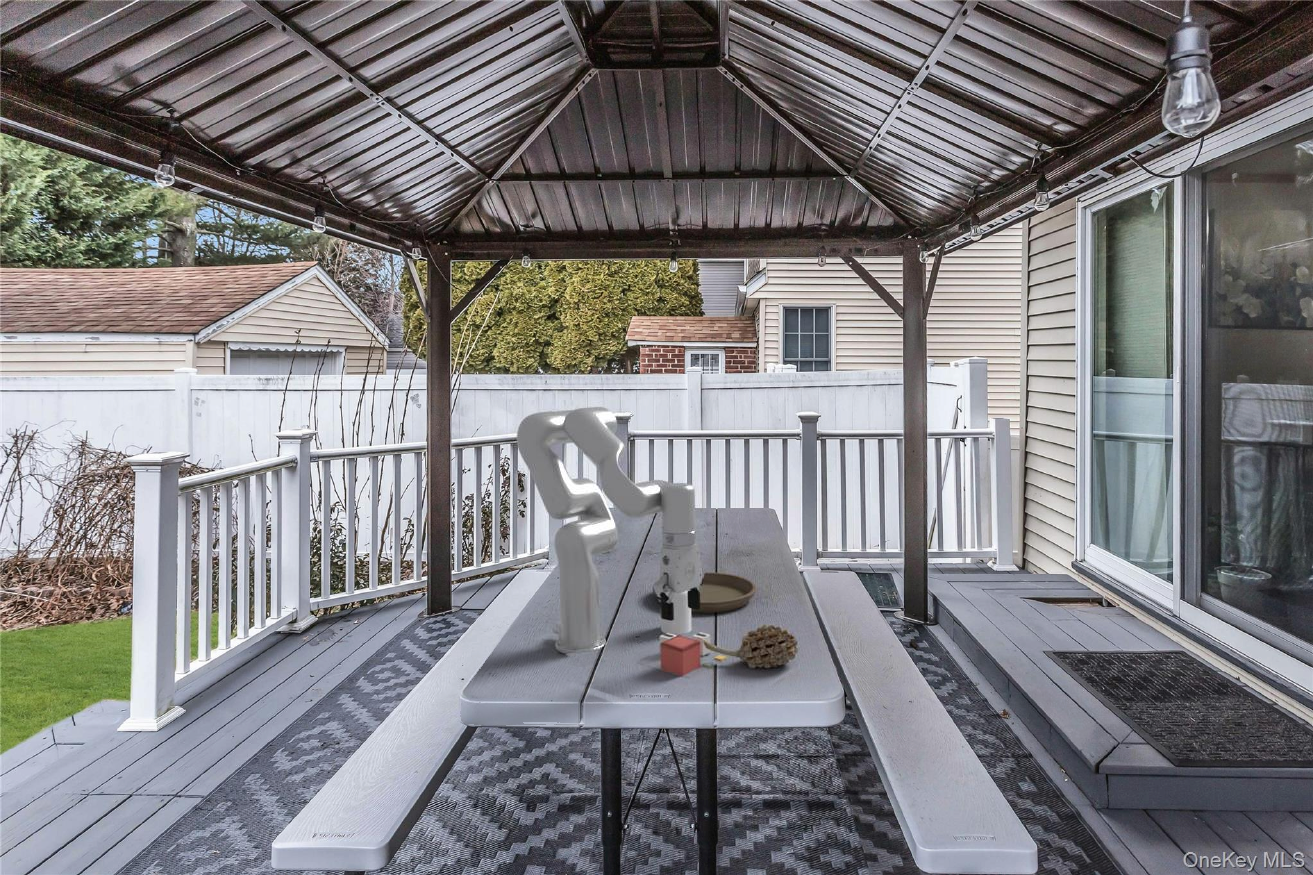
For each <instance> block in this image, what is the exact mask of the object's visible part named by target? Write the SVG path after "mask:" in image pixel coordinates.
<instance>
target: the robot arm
mask: <svg viewBox="0 0 1313 875" xmlns="http://www.w3.org/2000/svg"><path fill="white" fill-rule="evenodd" d="M617 430H618V421H617V418H616V416H615V414H614V413H613V412H612V411H611V410H610V409H608V408H606V407H602V406H594V407H593V406H591V407H580V408H576V409H572V410H571V409H570V410H568V409H567V410H556V411H555V410H554V411H552V410H550V411H540V412H536V413H535V412H534V413H532V414H530V415H528V416H525V417H524V418H523V419H522V420H521V422H520V424H519V426H518V429H517V433H516V444H517V448H518V452H519V454H520V456H521V458H522V460H523V462H524V464H525V465H526V466H527V468H528V471H529V472H530V474H531V477H532V479H533V481H534V484H535V486H536V488H537V491H538V494H539V496H540V498H541V500H542V503H543V505H544V508H545V510H546V512H547V514H548V515H549V516H550V517H551V518H552V519H554V520H559V521H560V520H567V519H572V518H576V517H579V520H573V521H570V522H567V523H566V524H563V525H562V526H561V527H559V528H558V530H557V532H556V533H555V536H554V542H553V543H554V549H555V554H556V558H557V564H558V570H559V571H558V572H559V573H558V575H559V596H560V598H559V599H560V622H558V623H556V625H555V627H554V628H553V629H552V633H554V634H557V635H558V639H557V641H555V643H554V644H555V646H554V647H555V649H556V650H557V651H558V652H559V653H561V654H564V655H566V654H569V653H584V652H591V651H595V650H598V649H601V648H603V647H604V646H606V643H607V641H606V638H604V637H603V636H602V635H600V634H601V632H600V598H599V594H600V592H599V591H600V590H599V573H598V570H597V568H596V566H595V563H594V562H593V559H592V558H593V557H595V556H598V555H601V554H604V553H606V552H609V551H610V550H612V549H614V548H615V547H616V545H617V542H618V539H619V532H618V527H617V525H616V522H615V519H614V517H613V514H612V513H611V510H610V507H609V506H608V504H607V502H606V499H605V496H606V498H607V499H608V500H609V501H610V502H611V503H612V504H613V506H614V507H616V509H618V511H620V512H621V513H622V514H624V515H625V516H627V517H630V518H634V519H635V518H636V519H638V518H642V517H646V516H650V515H653V514H659V513H661V536H662V538H661V539H662V540H661V542H662V543H661V544H662V547H661V552H660V560H659V561H660V562H659V563H660V564H659V565H660V566H659V579H658V580H657V581H656V582H654V584H655V585H654V584H653V585H654V587H653V586H652V589H653V588H654V590H655V593H656V595H655V597H657V599H658V602H660V619H661V618H662V619H665V620H669V621H672V620H674V604H673V602H671V601H672V599H673V597H674V594H675V593H682V592H685V591H687V590H688V592H687V594H688V608H692V609H696V610H699V609H700V592H701V590H702V588H701V586H702V583H703V578H704V574H705V572H706V571H705V569H704V568H702V561H701V554H700V549H699V544H698V542H697V532H696V531H697V530H696V525H697V524H696V497H695V496H696V492H695V491H696V490H695V487H694V486H693V485H692V484H690V483H685V482H670V481H665V480H663V479H653V480H646V481H642V482H637V483H634V482H633V481H632V480H631V479H630V478H629V477H628V476H627V475H626V474H625V473H624V471H623V470H622V469H621V467H620V465H619V464H620V463H621V462H622V460H623V459H624V457H625V455H626V451H627V449H626V448H627V447H626V444H624V442H623V441H621V439H620V438H619V437H618V436H616V432H617ZM571 443H572V444H573V445H575V446H576V447H577V448H578V449H579V451H581V453H583V455H585V457H586V458H587V459H589V461H590V462H591V463H592V464H593V465H594V466H595V467H596V468H597V470H598V471H597V472H598V475H597V476H598V481H599V484H600V487H599V486H598V485H597V484H596V483H595V482H594V481H593V480H592V479H589V478H587V477H579V478H578V477H577V478H571V476H570V474H569V472H568V470H567V469H566V466H565V463H564V462H563V459H561V457H559V455H558V454H557V453H556V452H554V450H552V449H551V446H554V445H564V444H571ZM600 488H601V489H600ZM603 494H604V495H603ZM667 592H669V595H668V596H667V595H666V593H667ZM655 593H654V594H655Z"/></svg>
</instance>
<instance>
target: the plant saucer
mask: <svg viewBox="0 0 1313 875" xmlns="http://www.w3.org/2000/svg"><path fill="white" fill-rule="evenodd" d="M654 585H655V583H654V584H653V585H652V591H653V593H654V595H655V596H656V593H655V590H654V588H653V587H654ZM701 588H702V590H701V592H700V609H699V610H696V609H692V608H691V613H696V614H697V613H698V614H701V613H702V614H705V613H722V612H723V613H724V612H729V611H733V610H736V609H740V608H742V607H744V606H746V605H747V604H748V603H749V601H750V600H751V599H752V598H754V596H755V594H756V592H757V585H756V583H755V582H753V581H752V580H750V579H748V578H745V577H742V576H740V575H736V574H730V573H723V572H709V571H705V574H704V578H703V583H702V586H701Z"/></svg>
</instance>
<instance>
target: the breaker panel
mask: <svg viewBox="0 0 1313 875" xmlns="http://www.w3.org/2000/svg"><path fill="white" fill-rule="evenodd" d="M675 636H678V635H674V634H670V633H666V634H665V633H663V634H661V635H659V644H660V643H662V642H664V641H666V640H669V639H671V638H673V637H675ZM731 657H732V656H729V655H725V654H721V653H717V652H714V651H711V650H710V653H708V654H706V655H703V656H702V655H700V665H701V667H699V668H697V669H696V670H694V671H692V672H690V673H688V674H686V675H684V676H682V675H679V674H676V673H672V672H669V671H666V670H662V669H661V648H660V647H659V652H657V653H655V654H653V655H651V656H649V657H647V658H645V659H642V660H640V661H638V662H637V664H640V665H643V666H647V667H650V668H653V669H656V670H661V671H663V672H666V673H670V674H673V675H677V676H679V677H683V678H687V679H691V678H692V677H694V676H696V675H699V674H701V673H702V672H704V671H705V670H707V669H710V668H712V667H714V666H716V665H717V664H719V663H721V662H723V661H726V660H727V659H729V658H731Z"/></svg>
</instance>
